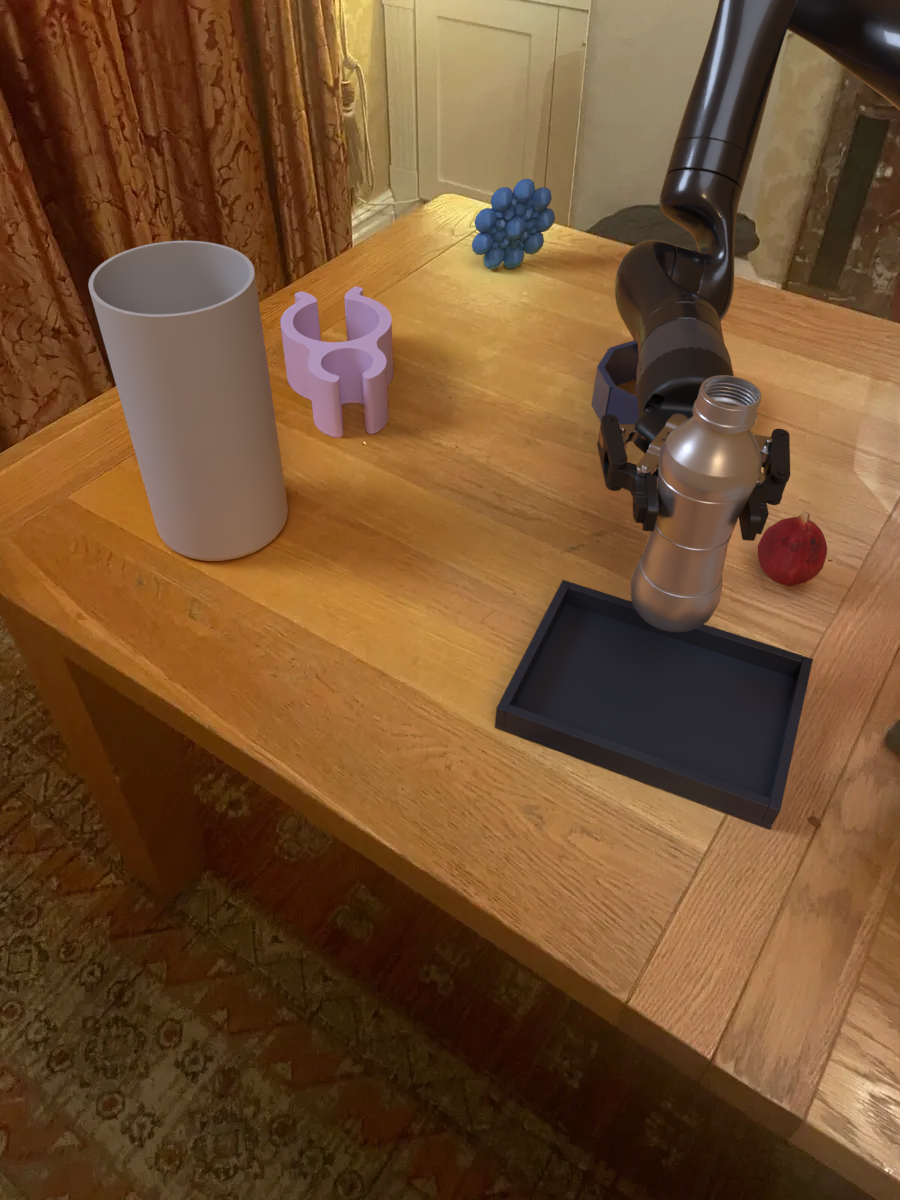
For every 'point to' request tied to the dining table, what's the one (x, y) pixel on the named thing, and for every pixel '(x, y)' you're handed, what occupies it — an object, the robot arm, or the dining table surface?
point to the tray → (660, 703)
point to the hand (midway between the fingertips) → (701, 526)
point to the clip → (340, 360)
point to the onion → (792, 550)
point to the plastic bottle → (698, 506)
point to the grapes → (513, 224)
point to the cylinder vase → (195, 393)
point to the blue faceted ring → (617, 383)
